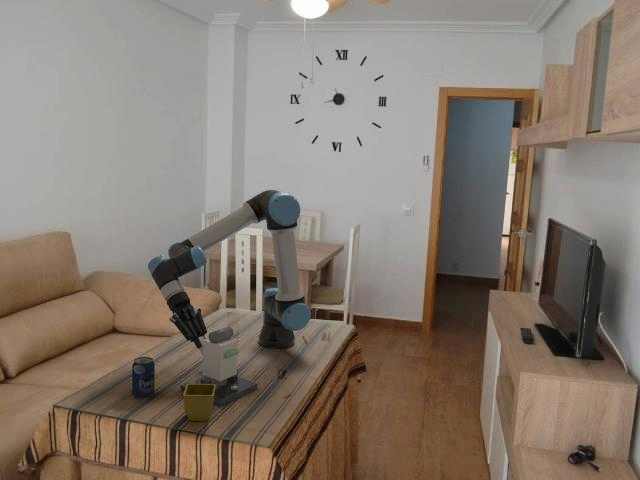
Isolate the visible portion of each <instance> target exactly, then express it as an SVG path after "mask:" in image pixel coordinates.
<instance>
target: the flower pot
mask: <svg viewBox="0 0 640 480" xmlns="http://www.w3.org/2000/svg"><path fill="white" fill-rule="evenodd" d="M215 388H216V384H187V386H186V389H185V391H184V392H183V395H182V396H183V406H184V407H183V408H184V412H185V414H186V417H187V418H188V420H189V421H190V422H197V421H198V422H207V421H208V420H209V418H210V416H211V414H212V411H213V406H214V404H213V402H214V396H215Z"/></svg>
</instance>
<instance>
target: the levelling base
mask: <svg viewBox="0 0 640 480" xmlns="http://www.w3.org/2000/svg"><path fill="white" fill-rule="evenodd" d="M187 384H212V378H210V377H207V376H204V375H202V376H201V377H198V378H196V379H191V380H189V381H187V382H185V383H184V384H181V385H179V386H180V387H179V388H180V389H179V391H180V392H181V393H184V391H185V389H186V386H187ZM215 384H216V388H215V396H214V402H213V406H214V405H215V406H217V407H220V408H221V407H223V406H225V405H227V404H229V403H231V402H233V401H235V400H238V399H240V398H242V397H244V396H246V395H248V394H250V393H253V392H254V391H256V390H258V385H259V384H258V383H257V382H254V381H252V380H248V379H246V378H243V377H241V376H239V369H238V368H237V374H236V375H234V376H232V377H229V378H227V379H225V380H222V381H219V382H217V383H215Z"/></svg>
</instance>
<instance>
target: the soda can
mask: <svg viewBox="0 0 640 480" xmlns="http://www.w3.org/2000/svg"><path fill="white" fill-rule="evenodd" d="M155 366H156V365H155V362H154V359H153V358H152V357H149V356H141V357H137V358H135V359H134V360H133V363H132V366H131V368H132V369H131V375H132V376H131V378H132V379H131V392H132V395H133V397H134V398H135V399H137V398H139V400H145V399H149V398H151V397H152V396H154V393H155V392H156V391H155V387H156V384H155V383H156V381H155V380H156V378H155V374H156V371H155V370H156V369H155V368H156V367H155Z"/></svg>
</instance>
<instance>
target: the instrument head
mask: <svg viewBox="0 0 640 480" xmlns="http://www.w3.org/2000/svg"><path fill="white" fill-rule="evenodd" d="M238 355H239V340H238V339H236V338H234V330H233V328H232V327H231V326H226V327H223V328H221V329H217V330H214V331H211V332H209V333H208V337H207V338H206V339H205V340H203V356H202V376H207V377H210V378H212V384H215V383H217V382H219V381H222V380H225V379H227V378H229V377H232V376H234V375H236V374H237V369H238Z"/></svg>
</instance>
